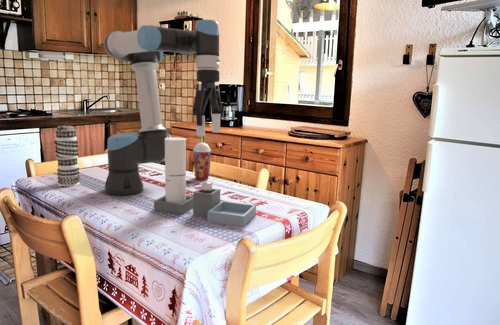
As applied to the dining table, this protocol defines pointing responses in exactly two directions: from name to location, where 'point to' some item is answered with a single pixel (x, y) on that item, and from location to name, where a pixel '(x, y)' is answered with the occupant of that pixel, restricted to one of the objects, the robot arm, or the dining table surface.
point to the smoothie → (202, 160)
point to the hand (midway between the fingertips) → (208, 134)
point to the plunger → (207, 186)
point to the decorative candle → (67, 156)
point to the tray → (231, 213)
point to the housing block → (205, 201)
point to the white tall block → (175, 169)
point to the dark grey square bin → (173, 205)
